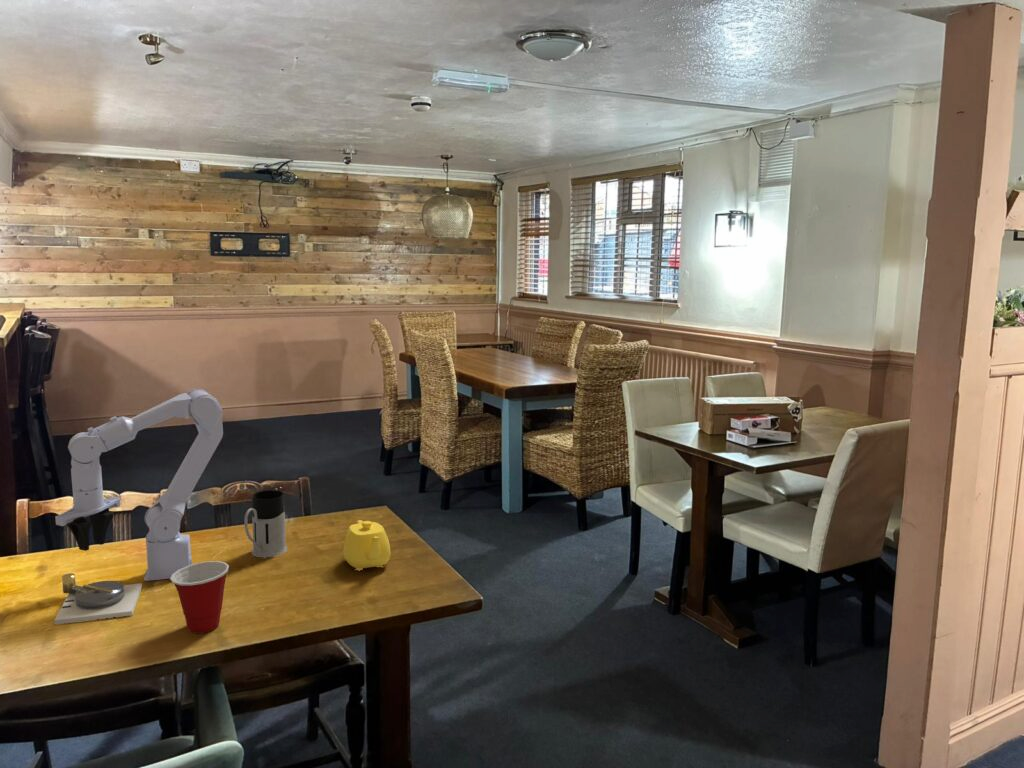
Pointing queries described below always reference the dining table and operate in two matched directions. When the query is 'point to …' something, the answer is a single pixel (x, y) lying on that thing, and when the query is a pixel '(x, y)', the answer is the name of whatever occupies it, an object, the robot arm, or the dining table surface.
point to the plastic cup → (201, 594)
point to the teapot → (366, 545)
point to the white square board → (99, 608)
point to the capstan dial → (93, 592)
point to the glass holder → (267, 524)
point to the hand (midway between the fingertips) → (91, 546)
